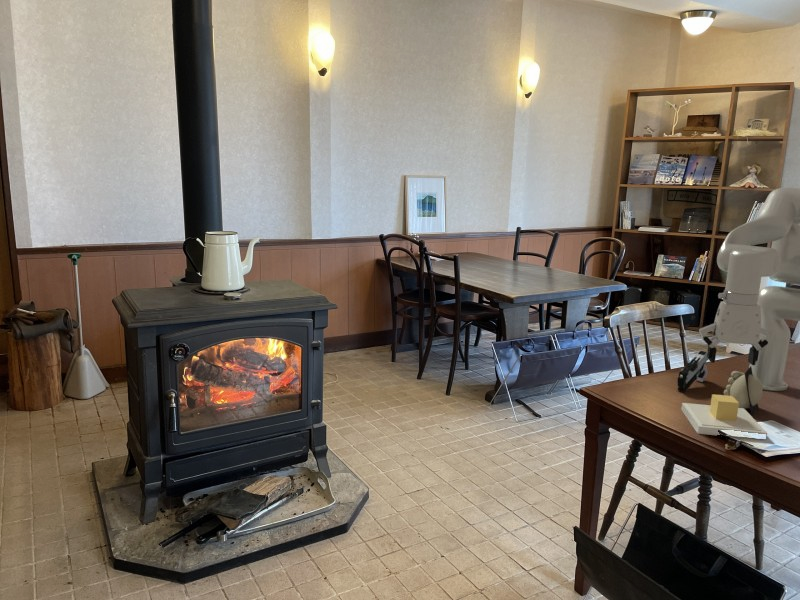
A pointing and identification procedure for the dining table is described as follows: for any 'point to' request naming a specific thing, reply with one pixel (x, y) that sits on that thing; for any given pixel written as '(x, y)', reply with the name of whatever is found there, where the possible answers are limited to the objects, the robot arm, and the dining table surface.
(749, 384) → the decorative object
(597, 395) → the dining table surface
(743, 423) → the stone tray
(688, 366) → the toy gun
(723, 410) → the mustard cube
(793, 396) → the dining table surface
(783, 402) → the dining table surface
